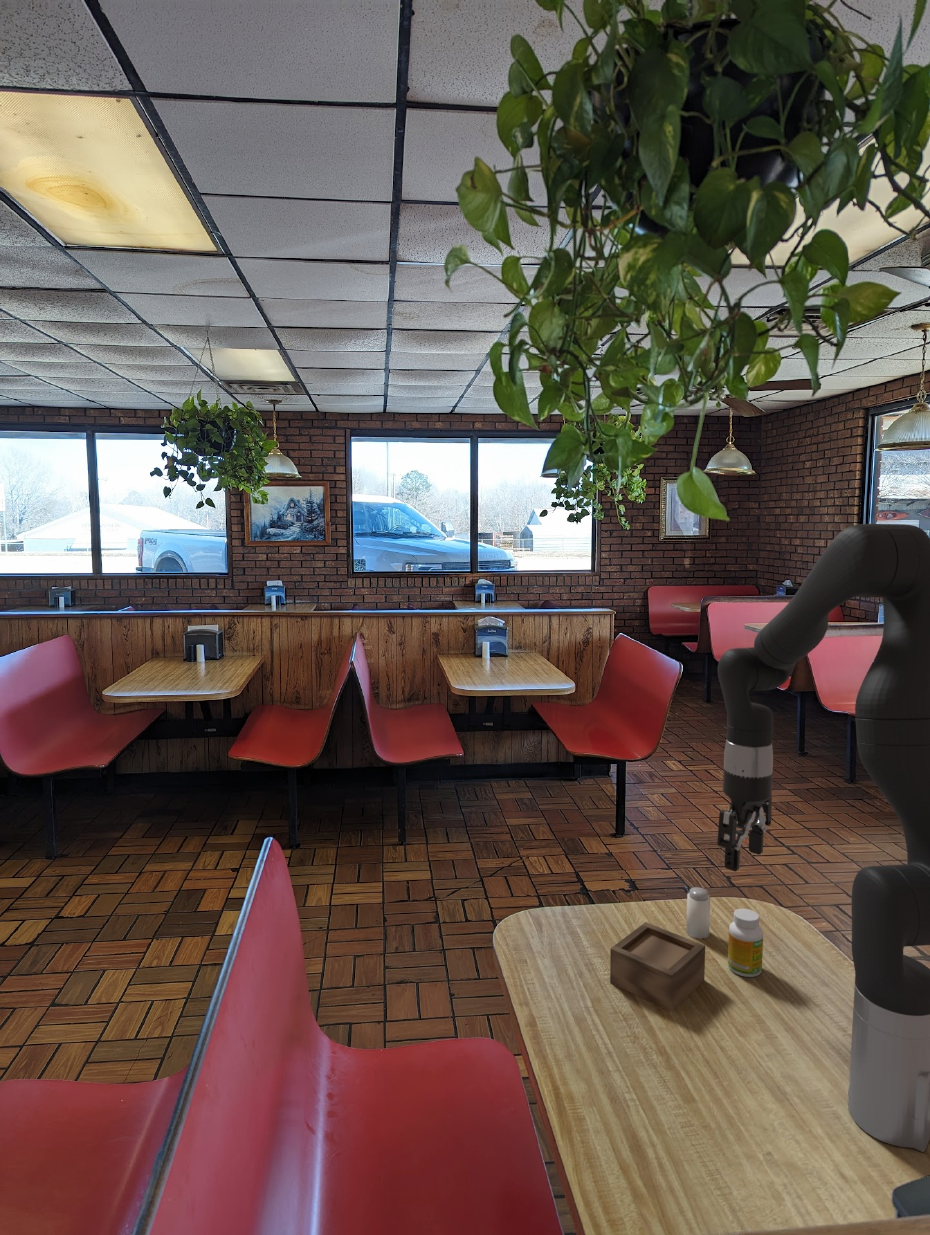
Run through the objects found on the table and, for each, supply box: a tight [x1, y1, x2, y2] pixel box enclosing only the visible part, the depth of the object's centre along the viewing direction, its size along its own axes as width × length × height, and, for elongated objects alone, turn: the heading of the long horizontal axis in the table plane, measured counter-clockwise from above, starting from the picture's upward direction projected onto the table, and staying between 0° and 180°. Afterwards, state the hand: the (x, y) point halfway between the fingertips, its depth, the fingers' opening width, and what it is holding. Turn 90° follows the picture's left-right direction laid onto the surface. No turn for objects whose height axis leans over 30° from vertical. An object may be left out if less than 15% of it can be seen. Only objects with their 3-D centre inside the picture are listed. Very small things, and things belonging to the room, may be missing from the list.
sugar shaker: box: [686, 886, 711, 940], centre depth 139 cm, size 4×4×8 cm
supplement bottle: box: [727, 908, 764, 978], centre depth 127 cm, size 5×5×10 cm
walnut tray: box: [609, 921, 706, 1013], centre depth 125 cm, size 11×11×6 cm
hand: (743, 860), depth 127 cm, fingers open, 8 cm apart
